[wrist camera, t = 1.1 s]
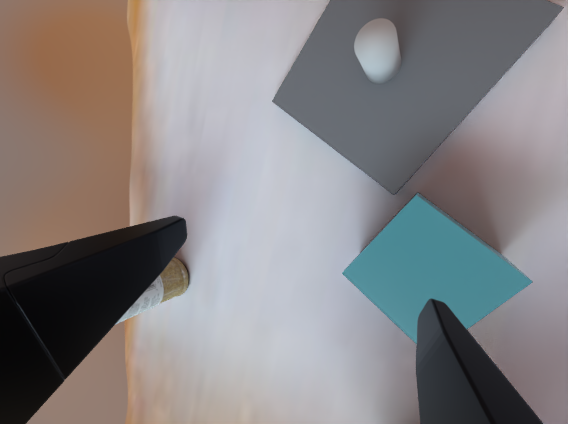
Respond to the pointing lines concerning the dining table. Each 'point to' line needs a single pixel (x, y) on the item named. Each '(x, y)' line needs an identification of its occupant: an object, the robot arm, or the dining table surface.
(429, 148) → the thin grey square panel
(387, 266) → the teal cube
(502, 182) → the dining table surface
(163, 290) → the sprinkles bottle
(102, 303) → the robot arm
